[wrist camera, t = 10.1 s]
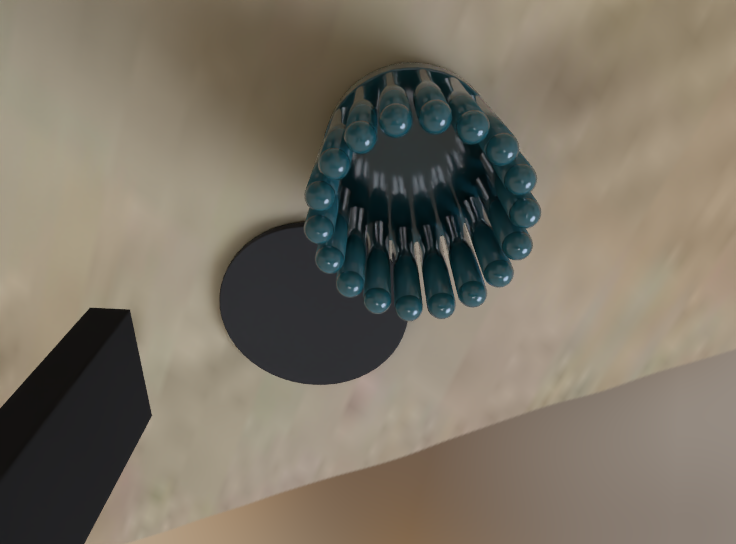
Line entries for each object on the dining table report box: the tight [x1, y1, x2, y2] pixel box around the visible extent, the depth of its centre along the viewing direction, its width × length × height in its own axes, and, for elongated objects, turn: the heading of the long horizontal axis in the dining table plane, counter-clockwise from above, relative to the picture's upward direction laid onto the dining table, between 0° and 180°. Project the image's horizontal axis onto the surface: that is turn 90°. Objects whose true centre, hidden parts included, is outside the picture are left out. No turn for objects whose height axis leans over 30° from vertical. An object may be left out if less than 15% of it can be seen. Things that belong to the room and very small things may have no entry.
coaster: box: [220, 223, 407, 385], centre depth 30 cm, size 11×11×1 cm
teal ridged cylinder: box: [304, 62, 541, 321], centre depth 22 cm, size 9×8×8 cm
